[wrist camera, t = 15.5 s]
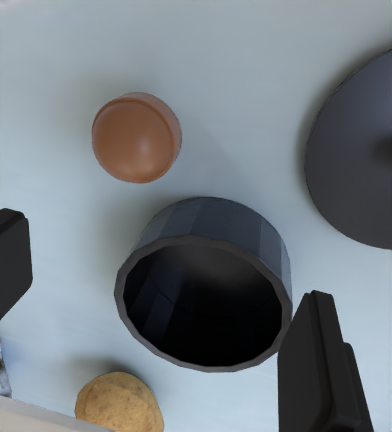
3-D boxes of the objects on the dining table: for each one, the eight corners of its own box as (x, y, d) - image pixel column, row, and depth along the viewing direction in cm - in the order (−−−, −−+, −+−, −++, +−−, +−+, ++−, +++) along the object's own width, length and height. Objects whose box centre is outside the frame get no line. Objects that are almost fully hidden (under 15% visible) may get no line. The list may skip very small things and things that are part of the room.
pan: (139, 185, 31) (109, 220, 26) (306, 211, 29) (314, 255, 24) (139, 304, 38) (116, 352, 33) (273, 332, 37) (273, 388, 31)
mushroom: (119, 80, 27) (68, 99, 20) (194, 89, 26) (167, 112, 20) (121, 153, 30) (77, 191, 23) (188, 163, 29) (163, 205, 23)
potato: (127, 422, 50) (103, 485, 44) (79, 355, 45) (44, 415, 38) (187, 420, 47) (173, 487, 40) (145, 347, 42) (119, 411, 35)
